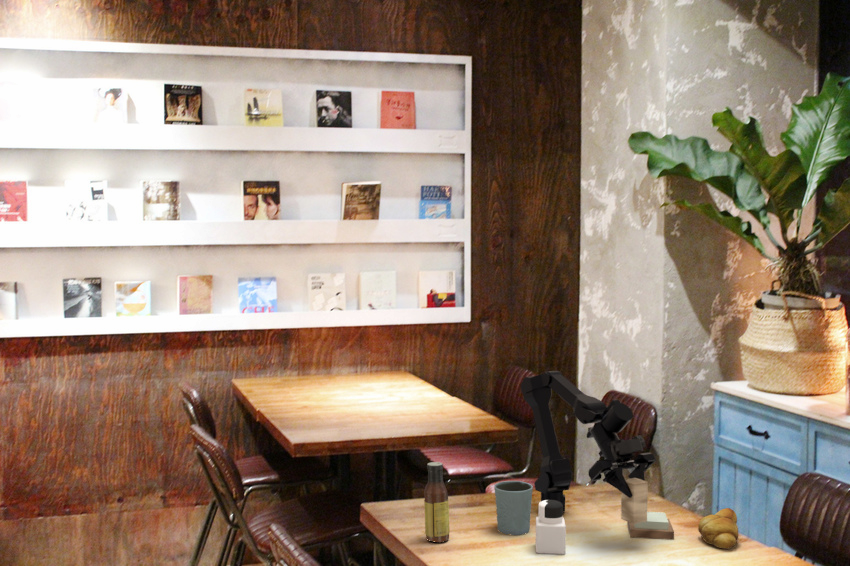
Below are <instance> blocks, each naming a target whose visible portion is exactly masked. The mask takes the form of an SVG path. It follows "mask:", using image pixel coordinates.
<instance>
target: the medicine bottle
mask: <svg viewBox="0 0 850 566" xmlns="http://www.w3.org/2000/svg"><path fill="white" fill-rule="evenodd" d="M537 512H538V516H535V551H536V554H544V555H545V554H546V555H547V554H548V555H565V554H566V545H567V543H566V541H567V540H566V537H567V535H566V534H567V533H566V529H567V527H566V523H565V522H566V521H565V518H564V517H563V516H564V511H563V504H562V503H561V502H559V501H556V500H544V501H541V500H540V501H539V503H538V511H537Z"/></svg>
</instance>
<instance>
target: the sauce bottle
mask: <svg viewBox="0 0 850 566" xmlns="http://www.w3.org/2000/svg"><path fill="white" fill-rule="evenodd" d="M426 468H427V472H428V473H427V480H428V481H427V483H426V484H425V487H424V492H423V494H424V500H423V501H424V504H423V505H424V507H423V508H424V531H425V532H424V534H425V539H426V538H427V539H428V540H430V541H435V542H442V543H444V542H443V541H446V542H447V541H449V539H450V511H449V509H450V508H449V507H450V506H449V495H448V490H447V489H448V488H446V485H445V483H444V477H443V469H444V464H443V463H442V462H440V461H431V462H428V463H427V465H426ZM427 539H426V540H427ZM428 540H427V541H428Z"/></svg>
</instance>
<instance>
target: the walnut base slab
mask: <svg viewBox="0 0 850 566" xmlns="http://www.w3.org/2000/svg"><path fill="white" fill-rule="evenodd" d="M667 519H668V522H669V530H658V529H639V528H635V526H634V524H632V523H630V522H627V521H626V523H627V528H628V533H629V537H630V538H636V539H637V538H638V539H639V538H642V539H659V540H675V530H674V528H673V525H672V523H671V520H670V518H667Z"/></svg>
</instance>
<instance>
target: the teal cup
mask: <svg viewBox="0 0 850 566" xmlns="http://www.w3.org/2000/svg"><path fill="white" fill-rule="evenodd" d="M493 488H494V496H495V506H496V508H495V509H496V523H497V524H496V525H497V531H498V530H499V531H500V532H499V531H498V532H499V533H501V532H502V533H501V534H503V533H505V534H504V535H507V534H511V535H510V536H522V535H521V534H523V535H526V534H528V533H529V532H530V529H531V524H530V523H531V513H532V512H531V510H532V502H533V501H532V500H533V499H532V498H533V491H534V490H533V489H534V486H533V485H532V484H531V483H529V482H525V481H522V480H521V481H520V480H505V481H498V482H496V483H495V484H494V487H493ZM525 533H526V534H525Z"/></svg>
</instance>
